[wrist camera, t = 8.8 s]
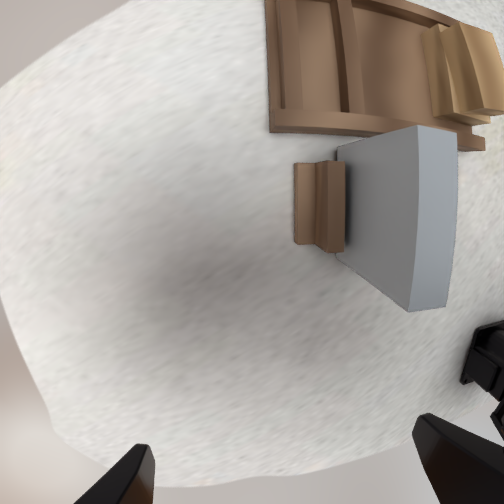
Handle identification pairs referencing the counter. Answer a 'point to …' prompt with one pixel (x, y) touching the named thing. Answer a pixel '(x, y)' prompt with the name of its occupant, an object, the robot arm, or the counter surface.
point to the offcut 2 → (474, 69)
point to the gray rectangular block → (402, 213)
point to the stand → (320, 204)
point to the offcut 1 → (444, 82)
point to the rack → (352, 68)
